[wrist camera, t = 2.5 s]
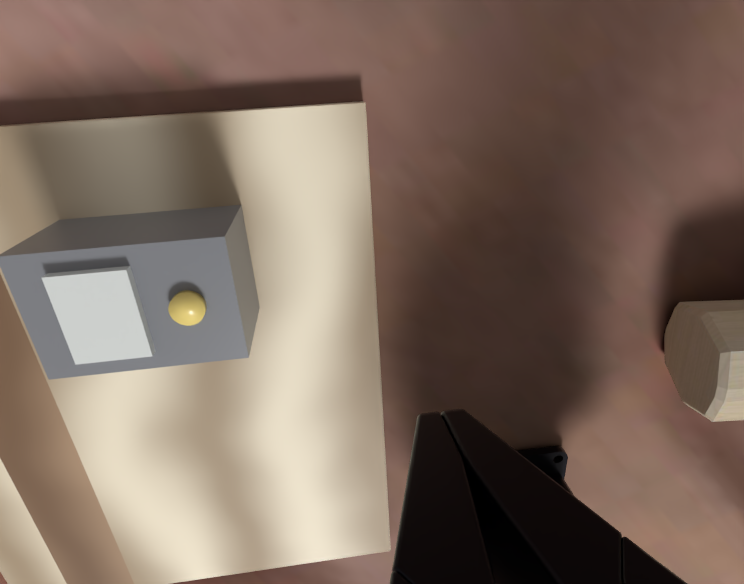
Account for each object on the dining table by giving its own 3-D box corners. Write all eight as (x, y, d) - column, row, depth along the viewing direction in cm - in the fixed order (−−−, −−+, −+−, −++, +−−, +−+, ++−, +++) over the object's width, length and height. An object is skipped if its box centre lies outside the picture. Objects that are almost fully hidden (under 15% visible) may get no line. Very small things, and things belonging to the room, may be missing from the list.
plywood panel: (362, 101, 16) (365, 102, 15) (388, 537, 25) (390, 550, 25) (-234, 140, 14) (-262, 144, 14) (29, 589, 24) (21, 605, 23)
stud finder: (241, 204, 16) (223, 240, 13) (260, 307, 18) (247, 362, 14) (59, 219, 16) (-12, 260, 12) (96, 324, 17) (43, 385, 14)
